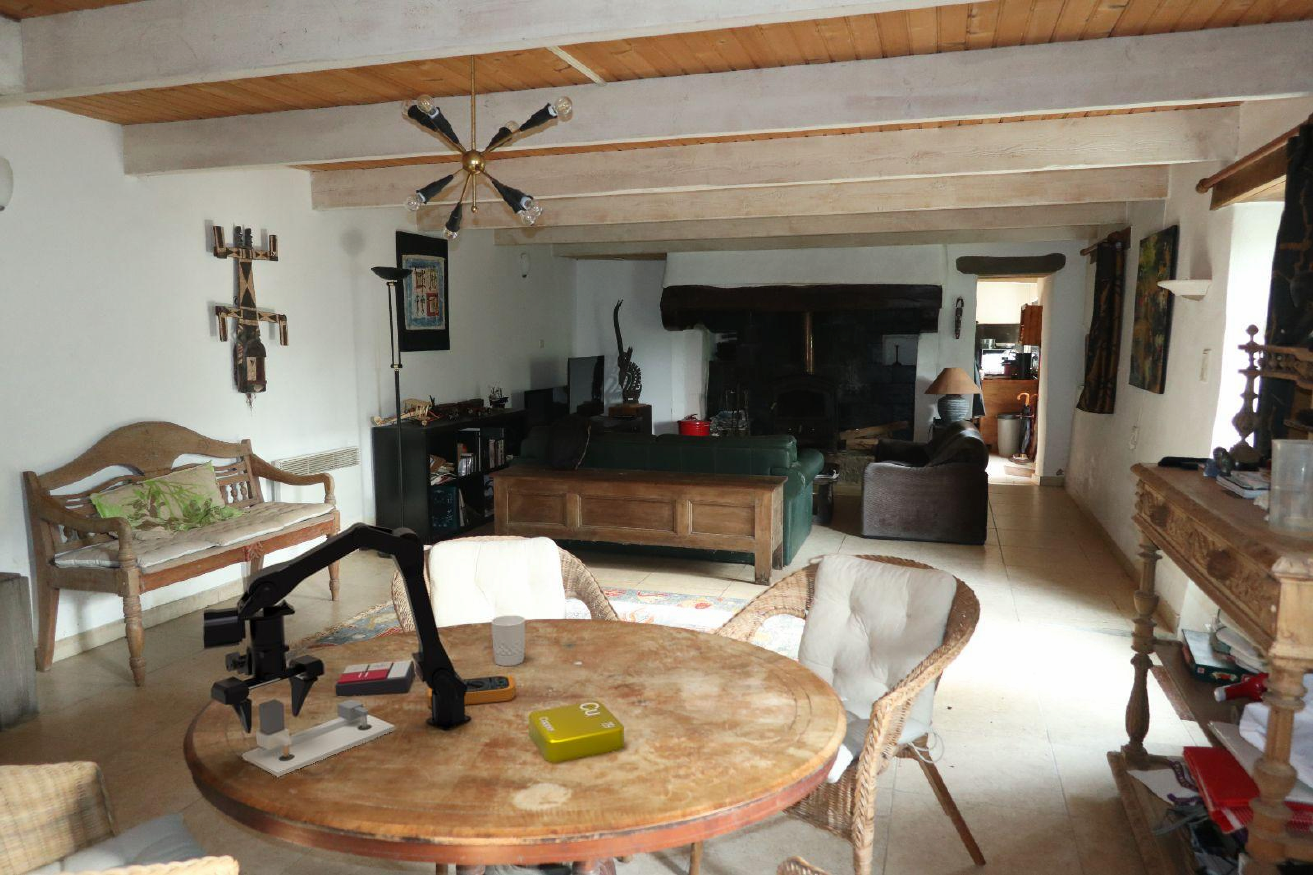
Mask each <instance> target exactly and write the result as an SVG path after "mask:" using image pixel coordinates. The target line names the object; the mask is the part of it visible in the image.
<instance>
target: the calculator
mask: <svg viewBox="0 0 1313 875" xmlns="http://www.w3.org/2000/svg"><path fill="white" fill-rule="evenodd" d="M415 676H416V672H415V661H414V660H410V659H407V660H399V661H394V662H393V661H383V662H374V663H373V662H372V663H370V664H369V663H362V664H353V665H351V664H350V665H347V666H346V668H345V669H344V671H343V672H342V674H340V677H339V679H338V680H337V682H336V683H335V685H334V688H335V696H336V695H337V696H347V697H360V696H361V697H363V696H362V695H364V696H373V695H375V696H376V695H381V694H382V695H384V694H386V695H395V694H396V695H397V694H398V695H399V694H408V693H409V691H410V689H411V687H412V684H413V682H414V679H415ZM354 695H355V696H354ZM359 695H360V696H359Z"/></svg>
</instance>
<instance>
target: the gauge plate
mask: <svg viewBox="0 0 1313 875" xmlns="http://www.w3.org/2000/svg"><path fill="white" fill-rule="evenodd" d="M337 716H338V717H337V718H335V719H333V720H332V719H331V720H330V721H327V722H325V723H322V724H319V725H317V726H316V725H315V726H313V727H311V728H308V729H305V730H302V731H301V732H297V733H294V734H292V735H289V738H290V739H292V744H290V745H289V749H290V756H288V757H284V752H283V745H280V746H278V747H275V748H272V749H270V750H268V749H266V748H264V747H262V746H259V747H257V748H254V749H251V750H248V751H246V752H244V753H241V756H242V757H244V758H246V759H247V760H250V761H251V762H252V763H255V764H256V765H258V766H260V767H261V768H263V769H265V770H267V771H268V772H270V773H272V774H274V775H276V776H277V777H279V776H280V775H283V774H286V773H289V772H291V771H294V770H295V769H299V770H301V769H300V768H302V767H304V766H306V765H309V766H311V765H310V764H312V765H314V764H315V762H316V761H319V760H321V761H324V760H326V759H328V758H327V757H329V756H331V755H334V754H336V755H338V754H337V753H339V752H341V751H344V752H346V751H348V750H347V749H349V750H351V749H353V748H352V747H354V746H356V747H358V745H359V746H360V745H361V746H362V745H363V744H366V743H368V742H370V740H371V741H373V740H376V739H377V738H376V737H378V738H380V736H381V737H383V736H385V735H384V734H386V735H387V733H388V734H390V733H389V732H391V733H393V732H395V731H396V725H395V724H392V723H389V722H387V721H384V720H382V719H379V718H378V717H376V716H375V717H374V716H372V715H370V710H369V709H367V708H364V704H363V702H359V701H357V700H354V699H351V698H350V699H348V700H345V701H342V702H339V703H337ZM382 735H383V736H382ZM375 738H376V739H375ZM365 742H366V743H365ZM362 743H363V744H362ZM350 748H351V749H350ZM354 748H355V747H354ZM345 750H346V751H345ZM341 753H342V752H341ZM339 754H340V753H339ZM334 756H335V755H334ZM242 757H241V758H242ZM331 757H332V756H331ZM325 758H326V759H325ZM329 758H330V757H329ZM323 759H324V760H323ZM319 762H320V761H319ZM313 763H314V764H313ZM316 763H317V762H316ZM304 768H305V767H304ZM302 769H303V768H302ZM294 772H295V771H294ZM289 774H290V773H289ZM279 778H280V777H279Z"/></svg>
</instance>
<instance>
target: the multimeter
mask: <svg viewBox="0 0 1313 875" xmlns="http://www.w3.org/2000/svg"><path fill="white" fill-rule="evenodd" d="M462 680H463V681H464V682H465V683H466V685H467V686H468V688H467V691H466V694H465V696H464V697H465V706H468V705H469V706H470V705H477V704H478V705H479V704H489V703H500V702H502V703H503V702H509V701H512V700H513V699H514V698H515V695H516V683H515V678H514V677H513V676H512V675H508V674H504V675H503V674H501V675H500V674H499V675H492V676H480V677H475V678H474V677H471V678H462ZM431 690H432V689H430V688H429V687H428V686H427V704H428V707H429V708H430V709H431V696H432V691H431Z"/></svg>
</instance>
